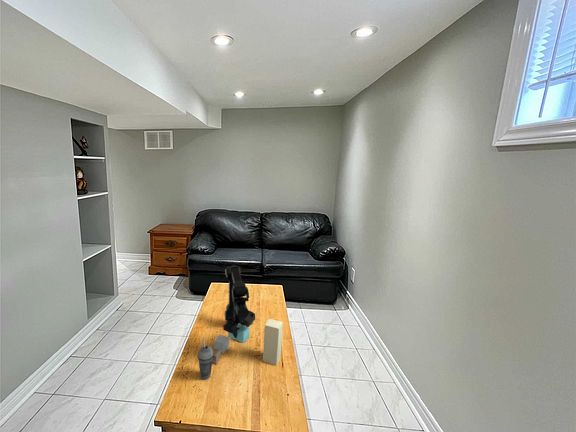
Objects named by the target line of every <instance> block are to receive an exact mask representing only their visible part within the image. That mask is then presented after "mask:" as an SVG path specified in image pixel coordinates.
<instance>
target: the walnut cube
mask: <svg viewBox="0 0 576 432" xmlns="http://www.w3.org/2000/svg"><path fill="white" fill-rule="evenodd" d="M211 348H212V350H213V359H212V365H214V366H217V365H218V363H219V362H220V360H221V359H222V356H221V355H222V353H221V350H218V349H214V347H211Z"/></svg>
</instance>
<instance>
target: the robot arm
mask: <svg viewBox="0 0 576 432" xmlns="http://www.w3.org/2000/svg"><path fill="white" fill-rule="evenodd" d="M224 269H225V270H224V273H225V277H226V278H227V280H228V303H227V305H226V307H225V311H224V313H223V315H224V319H225V324H223V327H222V329H223V331H224V332H227V333H228V332H229V333H232V334H233V335H234V337H235V338H237V331H238V329H240V328H238V324H241V325H244V326H246V327H249V328H250V327H251V326H252V325H253V323H254V321H256V313H255V312H253V311H251V310H249V308H248V306H247V302H249V298H250V293H249V292H250V291H249V288H248V287H247V286H246V283H245V282H244V281H242V277H241V266H239V265H231V266H227V267H226V268H224Z"/></svg>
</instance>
